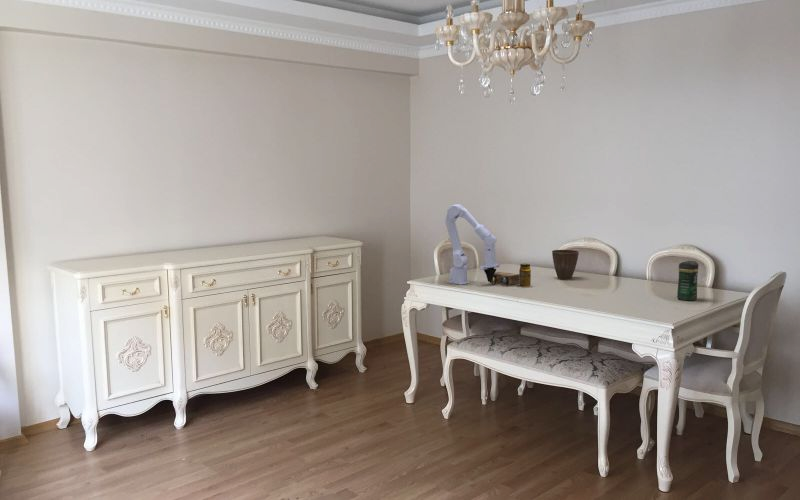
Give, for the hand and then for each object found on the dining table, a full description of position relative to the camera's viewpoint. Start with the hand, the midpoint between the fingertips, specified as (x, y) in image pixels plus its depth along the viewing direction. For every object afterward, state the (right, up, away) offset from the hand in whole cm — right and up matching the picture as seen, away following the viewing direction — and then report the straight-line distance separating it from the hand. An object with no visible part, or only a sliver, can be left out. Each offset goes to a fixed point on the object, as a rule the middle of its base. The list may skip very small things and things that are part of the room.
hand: (489, 281), depth 366 cm
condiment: (+17, -2, -5) cm, 18 cm away
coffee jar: (+88, -6, -46) cm, 100 cm away
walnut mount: (+8, -1, +3) cm, 9 cm away
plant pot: (+45, +1, +18) cm, 49 cm away
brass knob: (+4, 0, +4) cm, 6 cm away
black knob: (+10, -1, -2) cm, 10 cm away
